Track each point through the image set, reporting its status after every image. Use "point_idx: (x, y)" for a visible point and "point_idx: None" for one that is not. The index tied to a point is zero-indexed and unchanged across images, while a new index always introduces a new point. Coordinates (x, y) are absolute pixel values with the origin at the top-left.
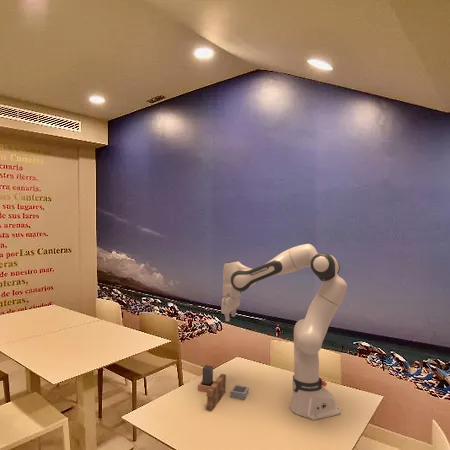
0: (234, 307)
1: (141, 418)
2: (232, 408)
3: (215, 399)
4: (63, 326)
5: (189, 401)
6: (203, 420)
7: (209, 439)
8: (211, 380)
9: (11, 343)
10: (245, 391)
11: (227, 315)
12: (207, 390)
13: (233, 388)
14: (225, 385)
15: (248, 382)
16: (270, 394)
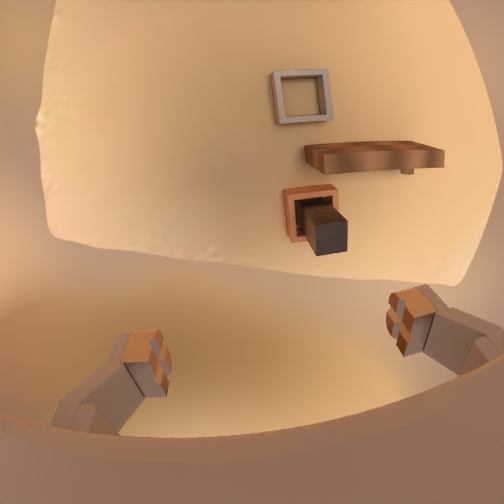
0: (285, 476)
1: (459, 265)
2: (376, 92)
3: (400, 143)
4: None
5: (388, 218)
6: (443, 146)
7: (481, 111)
8: (315, 206)
9: None
10: (309, 71)
11: (490, 337)
12: (442, 166)
13: (310, 116)
14: (313, 148)
15: (190, 108)
16: (236, 13)
